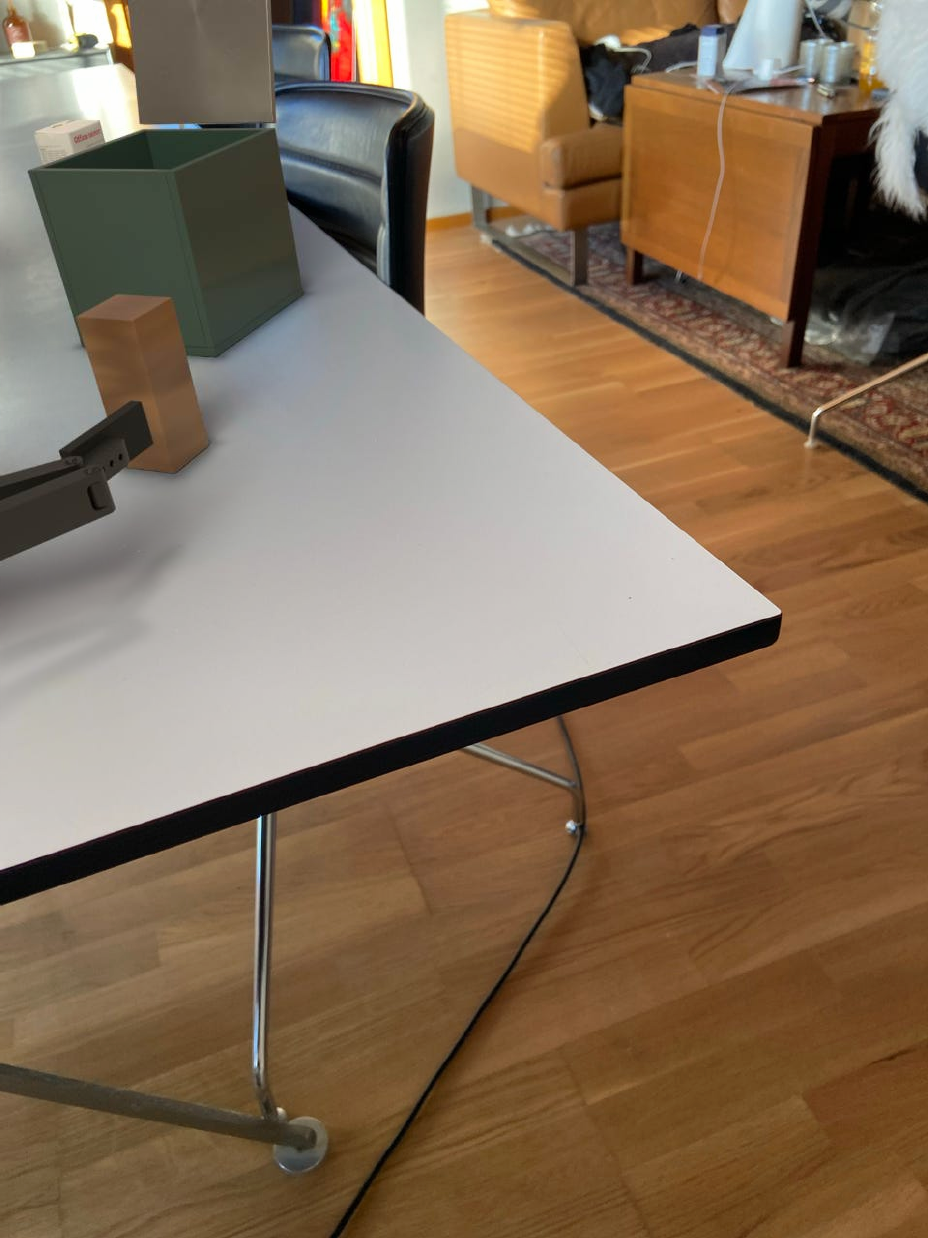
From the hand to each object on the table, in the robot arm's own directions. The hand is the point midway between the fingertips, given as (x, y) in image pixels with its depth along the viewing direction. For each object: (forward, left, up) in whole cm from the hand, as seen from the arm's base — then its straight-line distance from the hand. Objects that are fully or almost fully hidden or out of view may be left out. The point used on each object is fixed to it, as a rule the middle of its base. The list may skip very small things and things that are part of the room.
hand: (50, 412), depth 60 cm
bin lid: (-14, +45, +17) cm, 50 cm away
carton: (0, +9, -8) cm, 12 cm away
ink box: (-49, +65, -8) cm, 82 cm away
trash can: (-14, +35, -8) cm, 39 cm away
